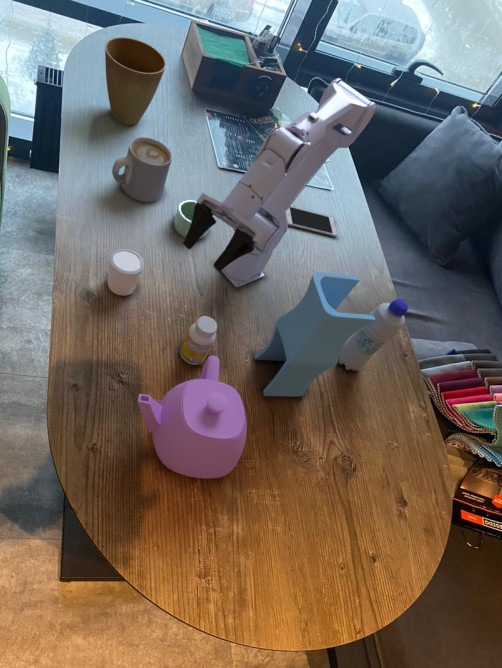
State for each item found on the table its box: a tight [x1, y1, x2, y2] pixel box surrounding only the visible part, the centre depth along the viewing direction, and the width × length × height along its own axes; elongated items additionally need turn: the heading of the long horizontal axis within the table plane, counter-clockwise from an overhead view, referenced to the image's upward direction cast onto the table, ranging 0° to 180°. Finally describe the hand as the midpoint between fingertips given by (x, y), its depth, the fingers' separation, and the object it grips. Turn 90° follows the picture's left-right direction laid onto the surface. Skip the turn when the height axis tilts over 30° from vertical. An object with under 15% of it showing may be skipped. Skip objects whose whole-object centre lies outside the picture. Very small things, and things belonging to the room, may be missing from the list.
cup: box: [173, 199, 209, 240], centre depth 119 cm, size 8×8×4 cm
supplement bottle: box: [179, 315, 218, 366], centre depth 97 cm, size 5×5×10 cm
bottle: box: [338, 298, 409, 372], centre depth 105 cm, size 7×7×20 cm
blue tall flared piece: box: [253, 271, 375, 397], centre depth 95 cm, size 10×10×25 cm
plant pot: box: [104, 36, 167, 126], centre depth 129 cm, size 15×15×16 cm
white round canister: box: [107, 248, 145, 296], centre depth 102 cm, size 7×7×7 cm
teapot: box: [137, 355, 248, 480], centre depth 85 cm, size 20×20×15 cm
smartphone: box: [286, 206, 338, 237], centre depth 136 cm, size 8×1×15 cm
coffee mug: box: [111, 136, 173, 203], centre depth 118 cm, size 13×10×10 cm
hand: (201, 257), depth 89 cm, fingers open, 7 cm apart
